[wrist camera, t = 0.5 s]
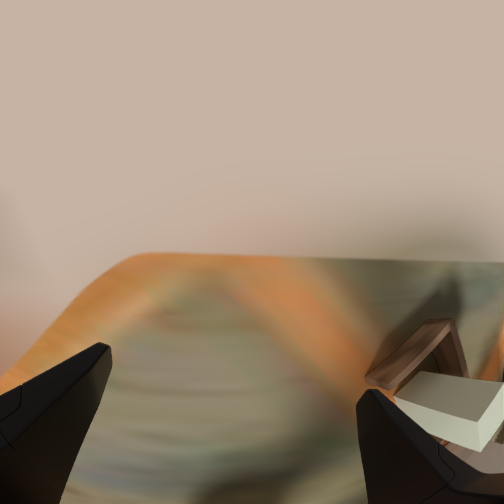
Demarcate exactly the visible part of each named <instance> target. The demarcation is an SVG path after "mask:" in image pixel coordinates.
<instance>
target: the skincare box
mask: <svg viewBox="0 0 504 504" xmlns="http://www.w3.org/2000/svg"><path fill="white" fill-rule="evenodd" d="M445 448H447V449H448V450H449V451H450V452H452V453H453V454H454V455H456V456H457V457H459V458H460V459H462V460H463V461H464V462H466V463H467V464H469V465H470V466H472V467H473V468H475V469H477V470H478V471H480V472H483V473H490V474H491V473H504V445H503V444H499V443H496V442H492V441H488V443H487V444H486V445H485V447H484V448H483V449H482V451H481V452H478V451H475V450H472V449H469V448H466V447H463V446H460V445H458V444H455V443H452V442H449V443H448V444H447V445H446V446H445Z"/></svg>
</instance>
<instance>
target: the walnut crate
mask: <svg viewBox="0 0 504 504" xmlns="http://www.w3.org/2000/svg"><path fill="white" fill-rule="evenodd" d="M432 350H433V352H434V355H435V358H436V361H437V364H438V368H439V371H440V374H443V375H449V376H456V377H462V378H470V377H469V373H468V369H467V365H466V361H465V357H464V353H463V349H462V346H461V342H460V339H459V336H458V333H457V329H456V326H455V323H454V320H453V318H447V319H428V320H427V321H426V322H425V323H424V324H423V325H422V326H421V327H420V328H419V329H418V330H417V331H416V332H415V333H414V334H413V335H412V336H411V337H410V338H409V339H408V340H407V341H406V342H405V343H403V344H402V345H401V346H400V347H399V348H398V349H397V350H396V351H395V352H394V353H392V354H391V355H390V356H389V357H388V358H387V359H385V360H384V361H383V362H382V363H381V364H380V365H378V366H377V367H376V368H375V369H373V370H372V371H371V372H370V373H368V374H367V375H366V376H365V379H366V381H367V383H370V384H372V385H375V386H378V387H381V388H384V389H386V390H389V391H391V390H392V389H393V388H394V387H395V386H396V385H398V384H399V383H400V382H401V381H402V380H403V379H404V378H405V377H406V376H407V375H408V374H409V373H410V372H411V371H413V370H414V369H415V368H416V367H417V366H418V365H419V364H420V363H421V362H422V361H423V360H424V359H425V357H426V356H427V355H428V354H429V353H430V352H431V351H432ZM430 435H431V436H432V437H433V438H435V439H436V440H437V442H439V443H441V444H442V445H443V444H444V443H445V442H446V440H444V439H442V438H439V437H437V436H434V435H432V434H430Z"/></svg>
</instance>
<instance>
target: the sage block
mask: <svg viewBox="0 0 504 504" xmlns="http://www.w3.org/2000/svg"><path fill="white" fill-rule="evenodd" d="M393 397H394V400H395V402H396V404H397V407H398V408H400V409H401V410H402V411H403V412H404V413H405V414H407V415H408V416H409V417H410V418H411V419H412V420H414V421H415V422H416V423H417V424H418V425H419V426H421V427H422V428H423V429H424V430H425V431H426V432H428V433H429V434H432V435H434V436H437V437H439V438H442V439H444V440H447V441H450V442H452V443H455V444H458V445H460V446H463V447H466V448H469V449H472V450H475V451H478V452H481V451H482V449H483V448H484V447H485V445H486V444H487V443H488V441H489V440H490V439H491V437H492V436H493V434H494V433H495V431H496V430H497V429H498V427H499V426H500V424H501V423H502V421H503V419H504V382H495V381H486V380H477V379H470V378H462V377H456V376H449V375H443V374H437V373H431V372H426V371H419V372H418V373H417V374H416V375H415V376H414V377H413V378H412V379H411V380H410V381H409V382H408V383H407V384H406V385H405V386H404V387H403V388H402V389H400V390H399V391H398V392H397V393H396V394H395V395H394V396H393Z"/></svg>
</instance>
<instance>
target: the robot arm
mask: <svg viewBox="0 0 504 504" xmlns="http://www.w3.org/2000/svg"><path fill="white" fill-rule="evenodd" d="M111 369H112V354H111V347H110V346H109V345H107V344H104V343H101V342H98V343H96V344H94V345H92V346H91V347H89V348H87V349H85V350H83V351H81V352H80V353H78V354H76V355H74V356H72V357H71V358H69V359H67V360H65V361H63V362H61V363H60V364H58V365H56V366H54V367H52V368H51V369H49V370H47V371H45V372H43V373H41V374H40V375H38V376H36V377H34V378H32V379H30V380H29V381H27V382H25V383H23V384H22V385H19V386H17V387H16V388H14V389H12V390H10V391H8V392H6V393H4V394H2V395H0V504H59V503H60V500H61V496H62V494H63V491H64V488H65V485H66V483H67V480H68V477H69V475H70V472H71V470H72V467H73V465H74V462H75V460H76V457H77V455H78V452H79V450H80V447H81V445H82V443H83V440H84V438H85V436H86V433H87V431H88V429H89V427H90V424H91V422H92V420H93V418H94V416H95V413H96V411H97V409H98V407H99V404H100V401H101V398H102V395H103V392H104V389H105V386H106V383H107V380H108V377H109V375H110V372H111ZM356 415H357V427H358V440H359V447H360V452H361V458H362V464H363V470H364V476H365V483H366V490H367V497H368V504H504V473H491V474H490V473H483V472H480V471H478V470H477V469H475V468H473V467H472V466H470V465H469V464H467V463H466V462H464V461H463V460H462V459H460V458H459V457H457V456H456V455H454V454H453V453H452V452H450V451H449V450H448V449H447V448H445V447H444V446H443V445H442V444H441V443H439V442H437V440H436V439H435V438H433V437H432V436H431V435H430V434H429V433H428V432H426V431H425V430H424V429H423V428H422V427H421V426H419V425H418V424H417V423H416V422H415V421H414V420H412V419H411V418H410V417H409V416H408V415H407V414H405V413H404V412H403V411H402V410H401V409H400V408H398V407H397V406H396V405H395V404H394V403H393V402H392V401H390V400H389V399H388V398H387V397H386V396H385V395H384V394H382V393H381V392H380V391H379V390H378V389H368V390H366V391H365V393H364V394H363V395H362V397H361V398H360V399H359V401H358V402H357V405H356Z"/></svg>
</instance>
